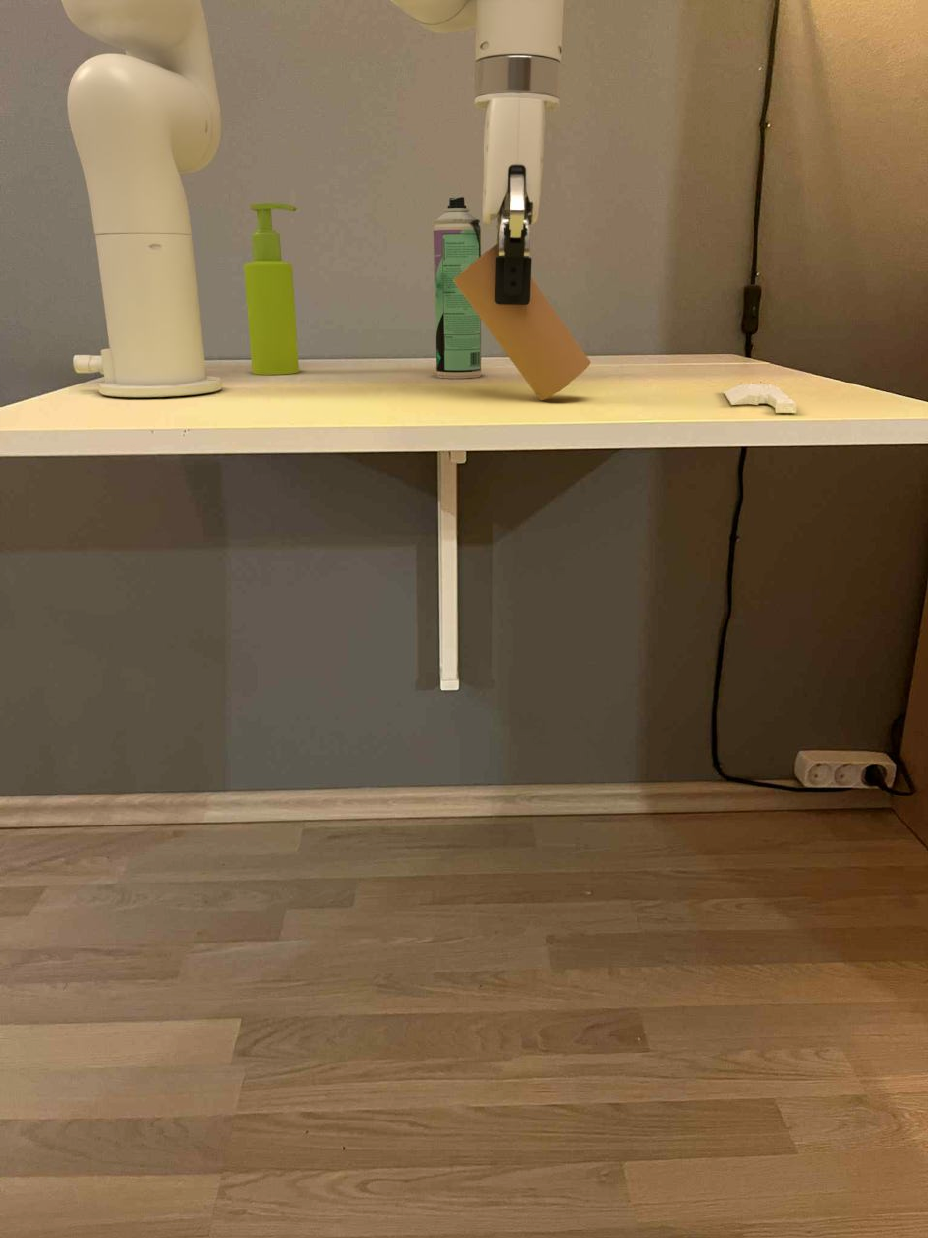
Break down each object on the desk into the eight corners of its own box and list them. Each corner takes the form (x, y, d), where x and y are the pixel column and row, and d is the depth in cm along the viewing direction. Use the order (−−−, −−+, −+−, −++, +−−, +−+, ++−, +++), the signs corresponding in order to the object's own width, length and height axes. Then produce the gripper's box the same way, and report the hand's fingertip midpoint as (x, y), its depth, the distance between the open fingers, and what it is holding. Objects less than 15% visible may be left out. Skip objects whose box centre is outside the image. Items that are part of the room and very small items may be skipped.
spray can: (483, 374, 118) (482, 198, 111) (479, 378, 113) (478, 194, 106) (439, 374, 118) (436, 199, 112) (433, 378, 113) (430, 195, 106)
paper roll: (452, 279, 86) (504, 236, 85) (452, 279, 92) (502, 238, 91) (543, 404, 90) (594, 364, 89) (538, 396, 96) (586, 359, 95)
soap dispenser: (302, 374, 119) (291, 200, 112) (248, 374, 119) (233, 201, 113) (310, 370, 125) (300, 204, 118) (258, 370, 125) (244, 205, 118)
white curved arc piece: (734, 412, 83) (735, 400, 82) (723, 393, 97) (724, 382, 96) (796, 412, 82) (797, 399, 81) (775, 393, 96) (776, 382, 95)
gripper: (474, 103, 92) (470, 299, 98) (475, 67, 76) (471, 305, 82) (551, 104, 92) (543, 300, 98) (569, 69, 76) (558, 307, 82)
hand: (510, 301), depth 90 cm, fingers closed on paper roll, 6 cm apart
